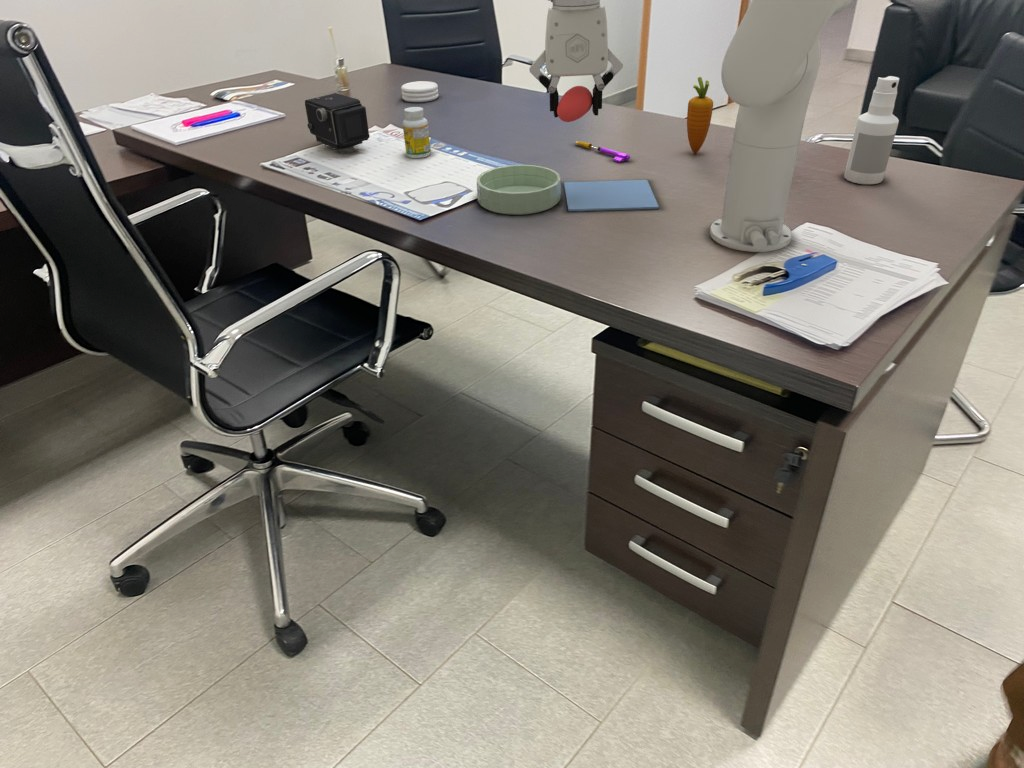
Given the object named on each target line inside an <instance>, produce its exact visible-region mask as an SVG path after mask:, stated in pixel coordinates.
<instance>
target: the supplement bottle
mask: <svg viewBox="0 0 1024 768" xmlns="http://www.w3.org/2000/svg"><path fill="white" fill-rule="evenodd" d="M424 112H425V111H424V108H423V107H421V106H409V107H406V108H404V111H403V113H404V117H405V119H403V121H402V130H403V138H404V146H405V154H406V156H407V157H408V158H411V159H423V158H427V157H429V156H430V155H431V154H432V153H431V152H432V150H431V149H432V148H431V141H430V131H429V130H430V129H429V122H428V119H427V118H425V117H424V115H425V113H424Z"/></svg>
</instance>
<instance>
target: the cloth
mask: <svg viewBox="0 0 1024 768" xmlns="http://www.w3.org/2000/svg"><path fill="white" fill-rule="evenodd" d="M563 186H564V193H565V199H566V205H567V212H596V211H597V212H599V211H630V210H631V211H632V210H659V209H660V206H659V204H658V201H657V199H656V197H655V194H654V192H653V190H652V188H651V186H650V184H649V180H648V179H628V180H627V179H625V180H591V181H590V180H589V181H588V180H587V181H564V182H563Z"/></svg>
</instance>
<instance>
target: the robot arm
mask: <svg viewBox="0 0 1024 768" xmlns="http://www.w3.org/2000/svg"><path fill="white" fill-rule="evenodd" d="M547 1H548V2H550V3H552V6H549V7H548V10H547V15H546V27H545V42H544V43H545V45H544V48H545V49H544V50H543V51H542V53H540V55H539V56H538V57H537V58H536V59H535V60H534V62H533V63H532V64H531V65H530V66H529V73H530V74H531V75H532V76H533V77H534V78H535V79H536V80H538V82H539V83H540V84H541V85H542V86H543V87H544V88H545V89H546V90H547V91H548V93H549V112H553V117H554V118H559V117H558V114H557V108H558V104H559V102H560V97H559V90H558V85H559V82H560V79H561V77H582V76H592V78H593V81H594V86H593V88H592V97H593V103H592V107H591V108H592V110H591V111H592V113H593V116H595V117H596V116H599V110H602V109H603V91H604V90H605V88H606V87H607V86H608V84H609V83H611V81H612V80H613V79H614V77H615V76H616V75H617V74H618V73H619V72H620V71H621V70H622V69H623V67H624V64H623V63H622V61H621V60H620V59H619V58H618V57H617V56H616V55H615V54H614V53H613V52H612V51H611V50H610V48H609V45H608V44H609V40H608V39H609V37H608V36H609V35H608V21H607V11H606V7H605V5H603V4H601V0H547ZM853 1H854V0H751V2H750V4H749V5H748V8H747V9H746V12H745V14H744V16H743V17H742V19H741V21H740V24H739V25H738V27H737V28H736V31H735V33H734V35H733V37H732V38H731V41H730V42H729V45H728V47H727V49H726V51H725V54H724V57H723V59H722V64H721V72H720V73H721V75H720V76H721V83H722V86H723V89H724V91H725V93H726V95H727V96H728V98H729V99H730V100H732V102H733V103H735V104H737V105H738V110H737V114H736V121H735V126H734V132H733V137H732V144H731V150H730V151H731V152H730V159H729V166H728V173H727V179H726V185H725V193H724V199H723V205H722V206H723V208H722V214H721V218H719V219H716V220H715V221H713V222H712V223H711V225H710V227H709V235H710V237H711V239H713V241H714V242H715V243H717V244H719V245H721V246H723V247H725V248H728V249H731V250H736V251H741V252H748V253H768V252H774V251H778V250H780V249H783V248H785V247H787V246H788V245H789V244H790V243H791V241H792V236H793V233H792V229H790V228H789V226H788V225H786V224H785V218H786V213H787V208H788V204H789V199H790V194H791V190H792V189H791V188H792V184H793V178H794V174H795V167H796V163H797V157H798V152H799V149H800V143H801V140H802V133H803V130H804V125H805V121H806V115H807V111H808V107H809V103H810V99H811V97H812V93H813V89H814V87H815V83H816V80H817V77H818V73H819V68H820V65H821V64H820V63H821V53H822V50H821V43H820V39H819V36H820V34H821V32H822V31H823V30H824V27H825V26H826V24H827V23H828V21H829V20H830V18H832V17H834V16H836V15H838V14H840V13H841V12H843V10H845V9H846V8H847V7H848V6H849V5H851V3H852V2H853ZM608 63H610V64H611V67H610V68H609V69H608ZM544 65H545V69H546V72H547V74H548V75H550V77H548V76H547V75H545V74H544V73H543V72H542V71H541V68H542V67H543V66H544ZM607 69H608V70H607ZM601 74H603V75H602V76H601Z"/></svg>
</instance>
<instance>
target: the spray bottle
mask: <svg viewBox="0 0 1024 768" xmlns="http://www.w3.org/2000/svg"><path fill="white" fill-rule="evenodd" d="M899 83H900V77H898V76H893V75H888V76H886V77H879V76H878V77H877V81H876V86H875V87H874V89H873V90H872V94H871V99H870V102H869V106H868V108H867V109H868V110H867V112H865V113H861V114H860V115H859V116H858V118H857V120H856V123H855V124H856V125H855V128H854V132H853V137H852V141H851V144H850V145H851V146H850V149H849V154H848V157H847V161H846V166H845V170H844V173H843V174H844V175H843V178H844V179H845V180H847V181H848V182H851V183H854V184H858V185H867V186H868V185H869V186H870V185H877V184H880V183H882V182H883V180H884V177H885V175H886V171H887V167H888V163H889V159H890V155H891V152H892V147H893V144H894V141H895V137H896V133H897V130H898V126H899V124H900V123H899V122H900V120H899V118H898V117H897V116H895V114H894V113H893V112H894V109H895V105H896V100H897V95H898V86H899Z"/></svg>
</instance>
